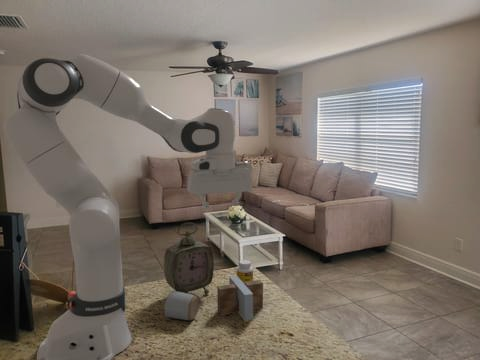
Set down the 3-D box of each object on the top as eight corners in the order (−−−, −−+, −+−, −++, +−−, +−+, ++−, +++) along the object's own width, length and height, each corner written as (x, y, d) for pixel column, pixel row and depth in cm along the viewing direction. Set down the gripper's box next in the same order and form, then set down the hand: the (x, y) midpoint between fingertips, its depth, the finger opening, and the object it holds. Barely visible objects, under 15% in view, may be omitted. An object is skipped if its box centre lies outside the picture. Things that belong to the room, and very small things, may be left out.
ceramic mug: (190, 325, 108) (190, 300, 107) (164, 321, 110) (163, 296, 109) (203, 309, 118) (203, 285, 117) (179, 305, 121) (179, 282, 120)
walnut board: (220, 314, 114) (219, 289, 113) (217, 311, 117) (217, 286, 116) (262, 307, 119) (263, 282, 118) (259, 303, 121) (259, 279, 120)
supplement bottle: (244, 295, 127) (244, 266, 126) (233, 290, 131) (233, 261, 130) (256, 290, 131) (256, 262, 130) (244, 285, 135) (244, 257, 133)
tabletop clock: (173, 306, 120) (171, 229, 116) (162, 295, 127) (160, 222, 124) (214, 295, 128) (213, 222, 124) (201, 285, 135) (200, 216, 131)
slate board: (229, 300, 124) (229, 276, 123) (236, 298, 125) (236, 275, 123) (244, 321, 111) (244, 295, 110) (252, 319, 112) (252, 293, 110)
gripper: (248, 160, 123) (248, 202, 125) (185, 162, 116) (186, 207, 118) (255, 162, 117) (255, 206, 119) (190, 165, 110) (191, 211, 112)
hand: (220, 207), depth 118 cm, fingers open, 8 cm apart
